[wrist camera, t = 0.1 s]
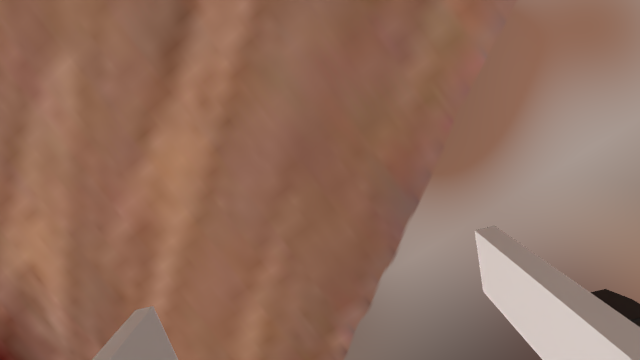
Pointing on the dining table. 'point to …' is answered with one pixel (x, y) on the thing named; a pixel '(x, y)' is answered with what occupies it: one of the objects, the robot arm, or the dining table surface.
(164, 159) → the dining table surface
